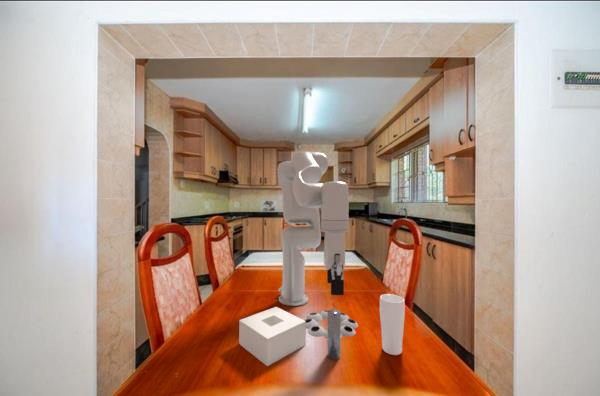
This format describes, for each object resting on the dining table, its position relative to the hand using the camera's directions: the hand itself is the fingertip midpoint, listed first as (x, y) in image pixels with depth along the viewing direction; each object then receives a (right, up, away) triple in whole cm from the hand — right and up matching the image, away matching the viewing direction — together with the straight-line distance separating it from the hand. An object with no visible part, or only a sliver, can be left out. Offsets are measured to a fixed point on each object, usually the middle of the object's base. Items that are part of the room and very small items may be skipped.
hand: (334, 288), depth 69 cm
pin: (0, -19, 0) cm, 19 cm away
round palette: (+1, -20, +18) cm, 26 cm away
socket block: (-18, -19, +5) cm, 26 cm away
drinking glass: (+17, -19, +3) cm, 25 cm away
